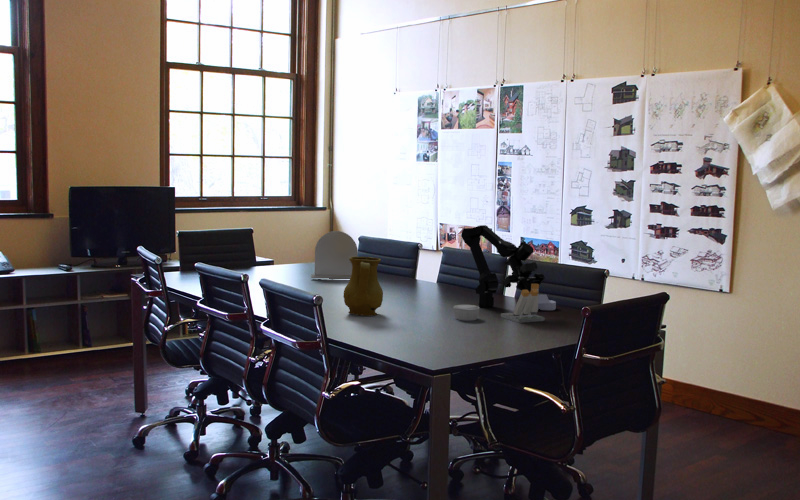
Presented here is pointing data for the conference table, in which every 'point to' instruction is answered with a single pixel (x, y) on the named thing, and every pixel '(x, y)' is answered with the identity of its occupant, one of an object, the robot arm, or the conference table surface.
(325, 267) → the award
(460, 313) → the ramekin
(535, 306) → the tripped breaker
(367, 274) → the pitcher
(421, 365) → the conference table surface
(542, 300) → the wedge on round base
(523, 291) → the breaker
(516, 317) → the panel
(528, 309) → the grey long bar piece
